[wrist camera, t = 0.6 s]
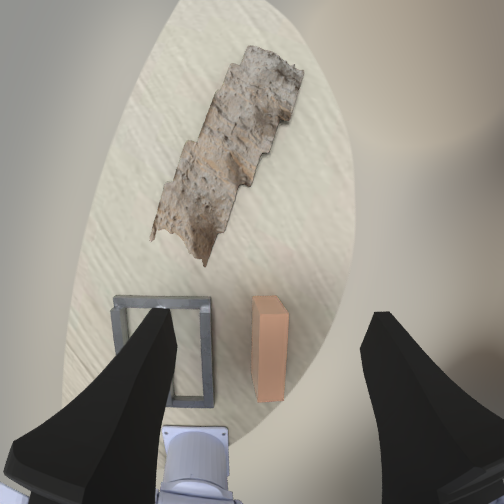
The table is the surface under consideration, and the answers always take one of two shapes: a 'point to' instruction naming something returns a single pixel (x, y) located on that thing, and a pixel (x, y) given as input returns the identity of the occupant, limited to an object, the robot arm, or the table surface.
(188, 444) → the robot arm
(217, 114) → the stone fragment
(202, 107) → the table surface
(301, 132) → the table surface
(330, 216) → the table surface
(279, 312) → the terracotta strip
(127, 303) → the drying rack
